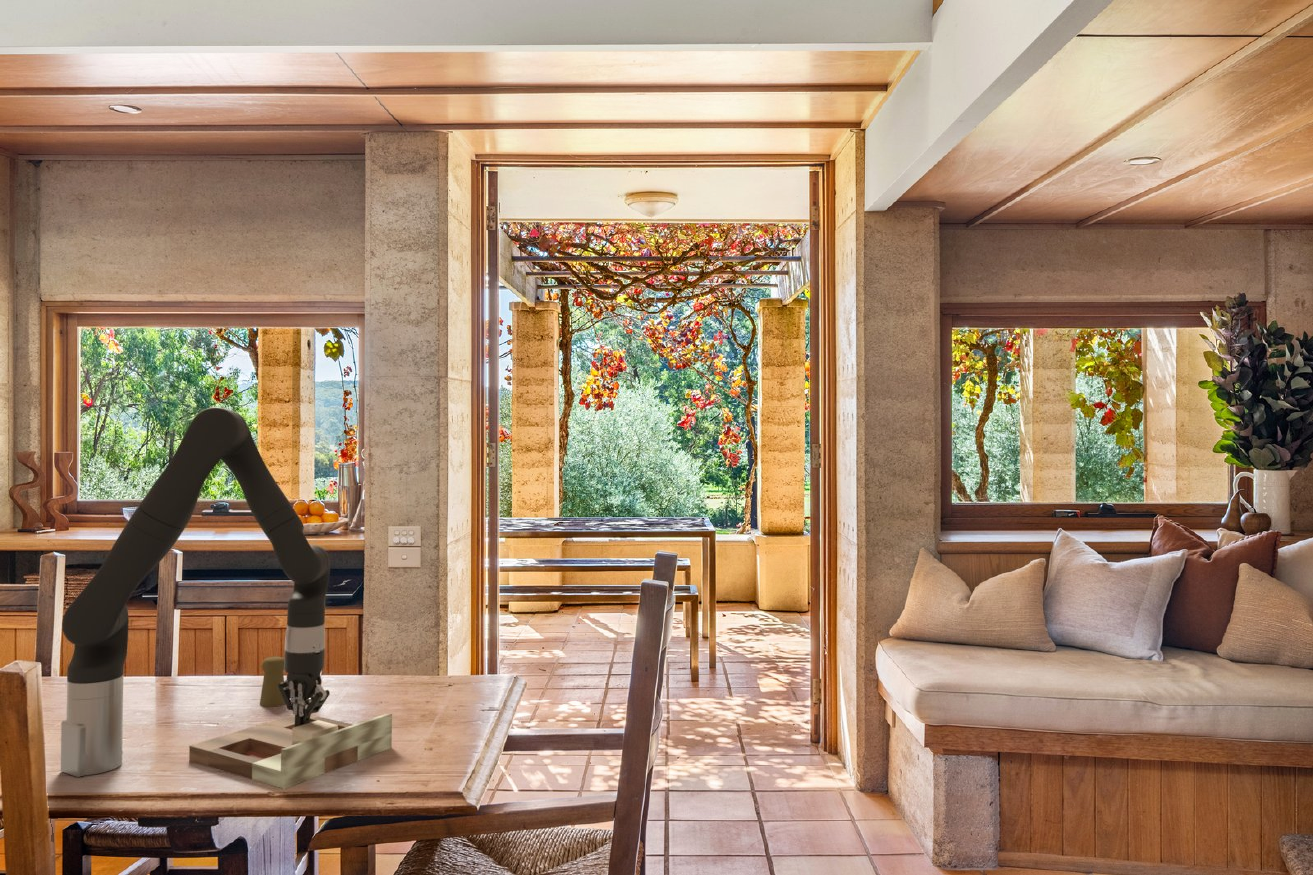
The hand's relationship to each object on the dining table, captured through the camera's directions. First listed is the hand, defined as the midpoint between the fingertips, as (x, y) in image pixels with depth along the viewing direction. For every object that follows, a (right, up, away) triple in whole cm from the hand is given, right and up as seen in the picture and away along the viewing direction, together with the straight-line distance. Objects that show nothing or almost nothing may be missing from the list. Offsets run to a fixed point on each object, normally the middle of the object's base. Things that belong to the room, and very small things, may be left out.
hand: (302, 733), depth 181 cm
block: (+4, -2, -3) cm, 5 cm away
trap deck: (-2, -5, +1) cm, 5 cm away
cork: (-21, -5, +37) cm, 43 cm away
